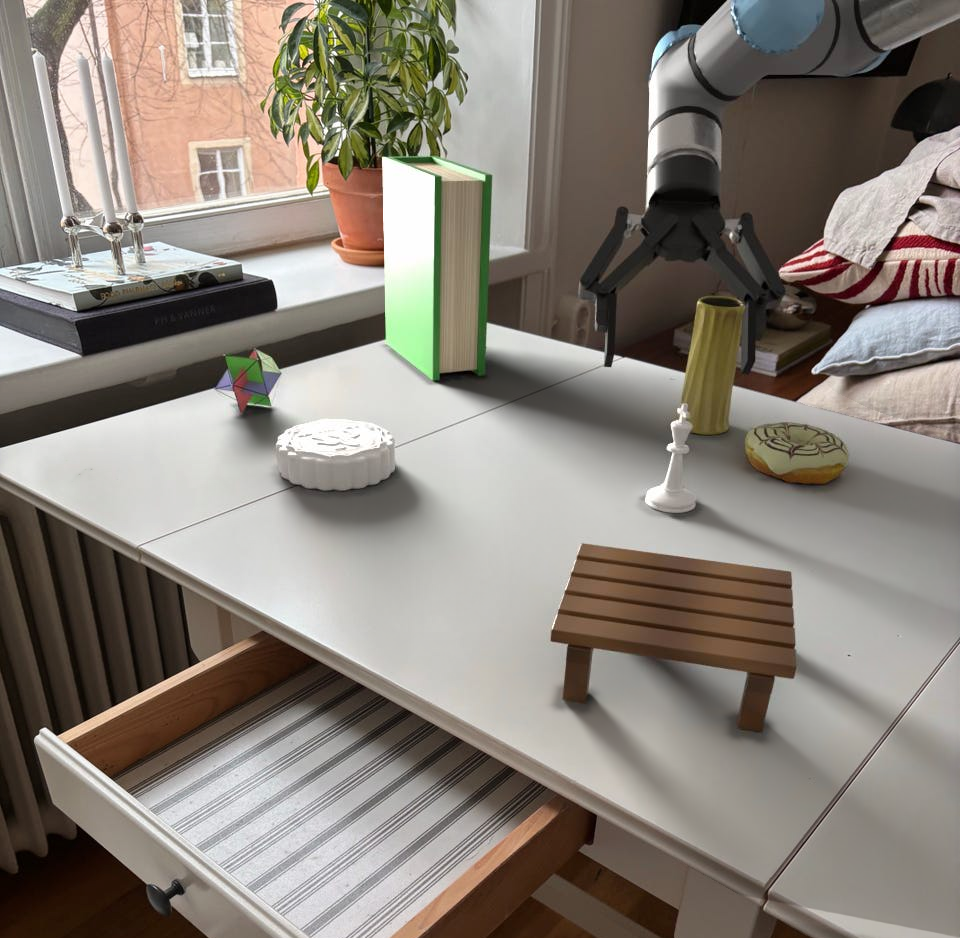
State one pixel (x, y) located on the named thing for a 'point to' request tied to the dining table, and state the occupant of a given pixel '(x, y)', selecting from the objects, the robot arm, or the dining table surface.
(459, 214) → the hardback book
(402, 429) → the dining table surface
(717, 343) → the vase
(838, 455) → the decorated donut
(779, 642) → the bench
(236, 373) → the geometric puzzle
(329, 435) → the mooncake
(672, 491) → the chess piece
